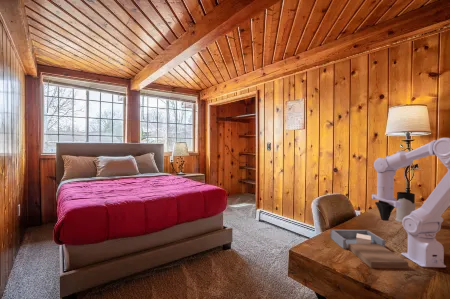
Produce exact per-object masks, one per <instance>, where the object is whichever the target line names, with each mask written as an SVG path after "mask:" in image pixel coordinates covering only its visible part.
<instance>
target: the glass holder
mask: <svg viewBox="0 0 450 299" xmlns="http://www.w3.org/2000/svg"><path fill="white" fill-rule="evenodd" d="M415 195H416V194H415V193H413V192H405V191H398V192H396V200H397V201H399V202H401V207H395V208H396V209H395V210H396V216H395V219H394V220H395V221H397V222H398V223H402V220H403V218H404V217H405V216H408V215H410V214H411V212H412V211H414V210H416V202H415V201H416V200H415V198H416V196H415Z"/></svg>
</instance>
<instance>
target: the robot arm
mask: <svg viewBox="0 0 450 299" xmlns="http://www.w3.org/2000/svg"><path fill="white" fill-rule="evenodd" d="M430 156H436V157H437V159H438V160H440V162H441V163H442V165H444V167H445V168H446V169H447V172H445V174H444V175H443V177H442V178H441V180H440V181H439V182H438V184H437V185H436V186H435V188H434V189H433V190H432V192H431V193H430V194H429V196H427V198H426V200H424V202H423V204H422V205H421V206H420V207H419V208H417V209H416V208H415V210H414V211H412V212H411V214H410V215H408V216H405V217H404V218H403V220H402V222H401V223H402V227H403V229H404V230H405V232H406V233H407V252H401V253H400V255H402V256H404V257H405V258H407V259H408V260H410V261H412V262H414V263H415V264H416V265H418V266H420V267H422V268H446V267H447V265H446V264H445V262H444V259H445V258H444V256H445V248H444V246H443V244H442V243H441V242H440V241H438V240H437V239H436V237H437V233H438V232H439V231H441V228H442V224H443V222H444V218H443V217H442V215H444V213H445V212H446V210H447V209H448V208H449V207H450V137H440V138H438V139H434V140H432V141H430V142H428V143H426V144H423V145H422V146H419V147H417V148H414V149H413V150H412V149H411V150H410V151H406V150H397V151H396V153H394V154H391V155H390V154H389V155H386V157H384V158H383V157H378V158H376V159H375V160H374V161H373V168H374V170H375V171H376V175H377V176H376V194H371V199H372V200H375V203H374V204H375V206H376V208H377V209H378V213H379V216H380V220H381V221H386V222H388V221H389V220H390V217H391V215H392V213H393V210H394V208H396V207H401V202H399V201H397V197H395V196H394V195H395V176H396V173H397V171H398V170H399V169H402V168H405V167H409V166H411V165H412V164H413V163H414V161H416V160H420V159H422V158H423V159H424V158H426V157H430Z"/></svg>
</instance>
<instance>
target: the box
mask: <svg viewBox="0 0 450 299" xmlns="http://www.w3.org/2000/svg"><path fill="white" fill-rule="evenodd" d="M357 234H363V235H369V236H371V244H380V245H382V246H383V247H385V248H386V246H385V245H386V240H385V239H383V238H382V237H380V236H378V235H376V234H375V233H373V232H372V231H370V230H368V229H330V239H331V240H332V241H333V242H335V243H336V244H337V245H339V247H341V249H343V250H347V249H348V244H357V243H356V236H357ZM348 250H349V249H348Z"/></svg>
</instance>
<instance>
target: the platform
mask: <svg viewBox="0 0 450 299" xmlns="http://www.w3.org/2000/svg"><path fill="white" fill-rule="evenodd" d="M348 250H349V251H350V252H352V253H353V254H354V255H355V256H356V257H357V258H359V259H360V260H361V261H363V263H365V264H366V265H367V266H368V267H370V268H371V269H373V268H374V269H409V261H407V260H405V259H404V258H403V257H401V256H399V255H398V254H396V253H394V252H393V251H391V250H389V249H388V248H386V246H385V247H383V246H382V245H380V244H348Z"/></svg>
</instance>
